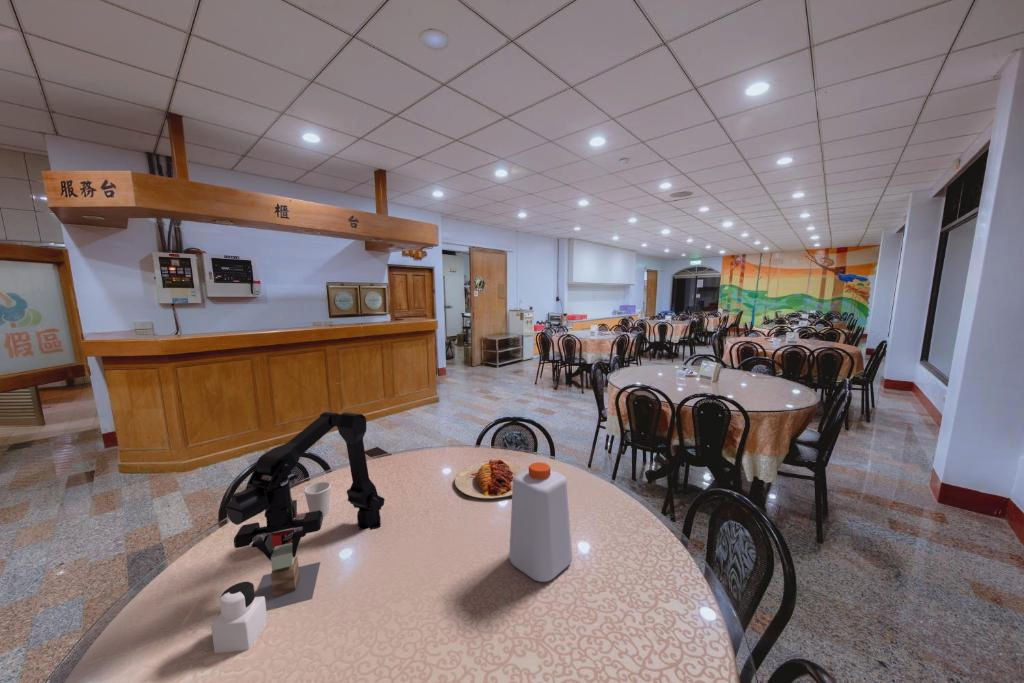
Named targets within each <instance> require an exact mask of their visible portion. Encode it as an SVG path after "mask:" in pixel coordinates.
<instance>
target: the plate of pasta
mask: <svg viewBox="0 0 1024 683" xmlns="http://www.w3.org/2000/svg"><path fill="white" fill-rule="evenodd" d="M524 471H526V469H525V468H523V469H522V468H521V467H520V465H519V464H517V463H516V462H515V463H513V462H510V461H509V462H508V461H503V460H502V459H494V460H493V459H489V460H488V461H487V460H486V461H480V462H478V463H475V464H471V465H469V466H466V467H465V468H463V469H461V470H460V471H459V473H458V474H457V476H456V477H455V479H454V485H455V486H456V488H457V489H458V490H459V492H461V494H464V495H467V496H468V497H469V496H470V497H473V498H479V499H497V498H498V499H499V498H507V497H512V489H513V484H512V483H513V479H514V477H515V476H517V475H519V474H520V473H522V472H524ZM513 475H514V476H513ZM474 476H475V477H476V479H475V477H474ZM472 478H473V479H472ZM470 479H472V481H476V482H477V485H478V486H479V487H480V492H481V493H478V492H474V491H473V490H472V489H471V488H470V487H469V481H470Z"/></svg>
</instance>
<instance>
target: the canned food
mask: <svg viewBox="0 0 1024 683" xmlns="http://www.w3.org/2000/svg"><path fill="white" fill-rule="evenodd" d="M297 519H298V511H297V512H296V516H295V518H293V521H295V520H297ZM293 534H294V529H291V530H286V531H281V532H276V533H272V534H271V540H272V545H273V549H274V548H275V547H276V546H280V545H285V544H289V543H292V537H293Z"/></svg>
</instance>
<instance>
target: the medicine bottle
mask: <svg viewBox="0 0 1024 683" xmlns="http://www.w3.org/2000/svg"><path fill="white" fill-rule="evenodd" d="M255 594H256V592H255V586H254V584H253V582H250V581H241V582H238V583H235V584H233V585H230V587H228V588H227V589H225V590H224V591H223V592H222V594H221V595H220V597H219V607H220V613H219V615H218V616H217V617H216V619H215V620H214V621H213V623H212V624H211V626H210V627H211V636H212V642H213V643H212V644H213V650H214V652H213V653H214V654H221V653H230V652H233V653H234V652H242V651H243V652H244V651H249V650H250V649H251V648H252V646H253V645H254V643H255V641H257V639H258V637H259V636H260V634H261V633H262V631H263V629H264V628H265V626H266V625H267V624H268V614H267V611H266V603H265V597H264V596H262V597H255Z"/></svg>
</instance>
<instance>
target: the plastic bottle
mask: <svg viewBox="0 0 1024 683" xmlns="http://www.w3.org/2000/svg"><path fill="white" fill-rule="evenodd" d="M525 470H526V469H525ZM511 489H512V496H511V512H510V514H511V515H510V535H509V555H508V556H509V562H510V563H511V564H512V565H513V566H514V567H515V568H516V569H517V570H520V571H521V573H524V574H525V575H526V576H528V577H529V578H531V579H532V580H534V581H536V582H538V583H539V582H540V583H547V582H549V581H552V580H553V579H555V578H556V577H557V576H558V575H559V574H560V573H561V572H563V571H564V570H565V569H566V568H568V566H570V564H571V563H572V561H573V547H572V546H573V545H572V544H573V543H572V534H571V520H570V508H569V506H570V504H569V494H568V482H567V478H566V477H565V476H564V475H563V474H561V473H559V472H557V471H554V470H552V469H551V466H550V465H549V464H547V463H545V462H533V463H531V464H530V465H529V466H528V468H527V470H526V471H524V472H522V473H520V474H519V475H517V476H515V475H514V477H513V481H512V488H511Z"/></svg>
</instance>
